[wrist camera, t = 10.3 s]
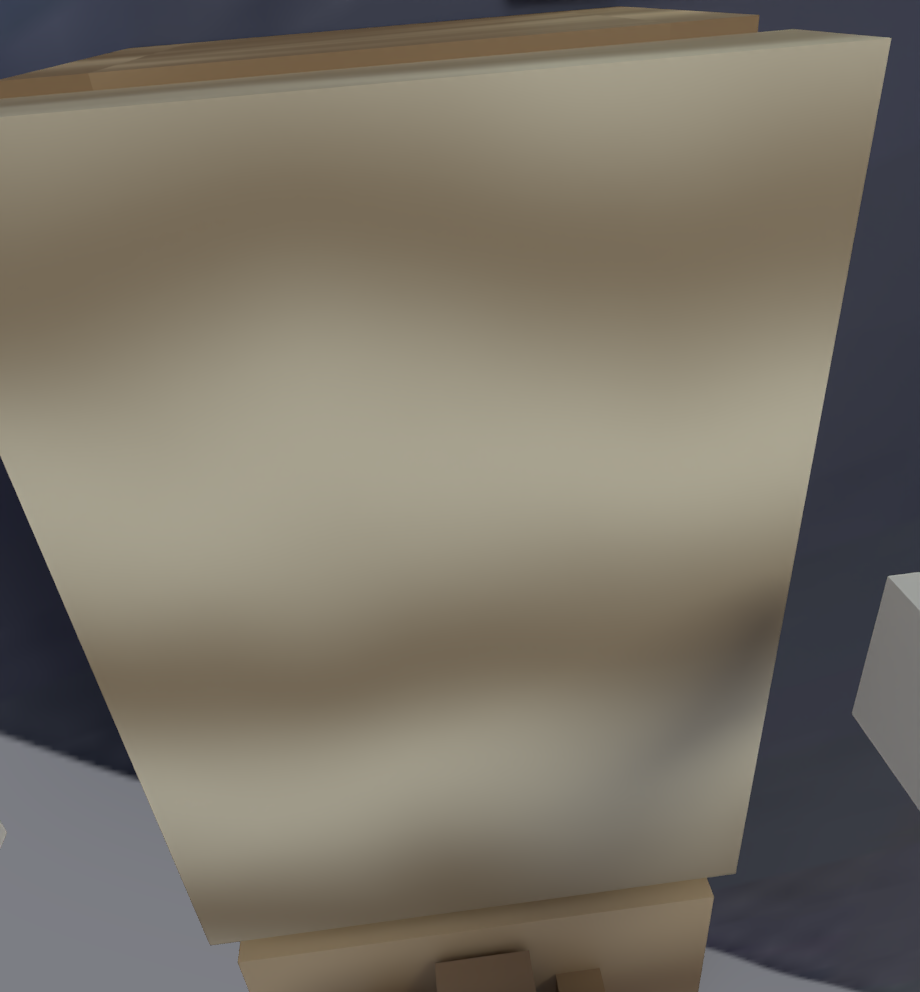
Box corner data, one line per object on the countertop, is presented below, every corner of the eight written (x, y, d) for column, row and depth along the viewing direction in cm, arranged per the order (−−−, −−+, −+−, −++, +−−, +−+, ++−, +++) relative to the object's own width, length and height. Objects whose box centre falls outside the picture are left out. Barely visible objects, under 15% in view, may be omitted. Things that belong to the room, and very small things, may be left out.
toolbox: (128, 48, 16) (-217, 132, 7) (619, 6, 17) (966, 27, 7) (302, 734, 27) (267, 1148, 17) (599, 696, 27) (726, 1080, 18)
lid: (-5, 92, 11) (-140, 129, 8) (757, 25, 12) (890, 38, 9) (233, 797, 20) (210, 945, 17) (679, 739, 20) (735, 873, 17)
